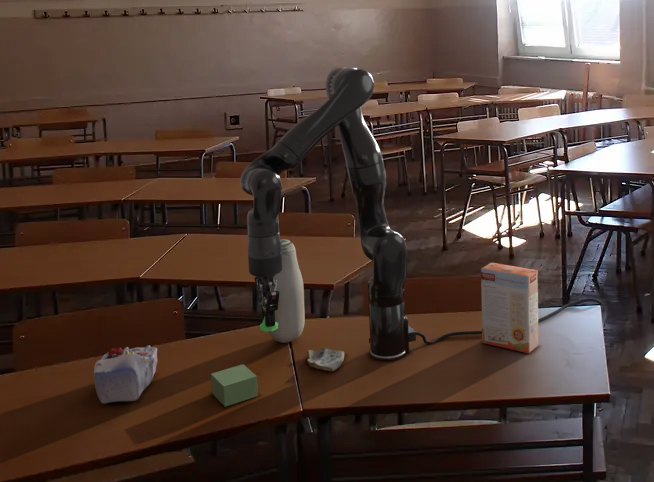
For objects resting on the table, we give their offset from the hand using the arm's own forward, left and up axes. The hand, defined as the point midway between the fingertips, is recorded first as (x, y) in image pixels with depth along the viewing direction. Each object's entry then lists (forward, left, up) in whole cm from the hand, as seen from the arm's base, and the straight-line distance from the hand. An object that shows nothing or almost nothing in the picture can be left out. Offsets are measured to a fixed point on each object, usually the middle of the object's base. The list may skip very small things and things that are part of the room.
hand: (268, 323), depth 193 cm
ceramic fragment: (-15, -9, -17) cm, 25 cm away
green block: (+8, -3, -17) cm, 19 cm away
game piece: (0, 0, -1) cm, 1 cm away
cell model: (+30, -19, -17) cm, 40 cm away
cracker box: (-62, +5, -17) cm, 64 cm away
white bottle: (-11, -27, -17) cm, 34 cm away
